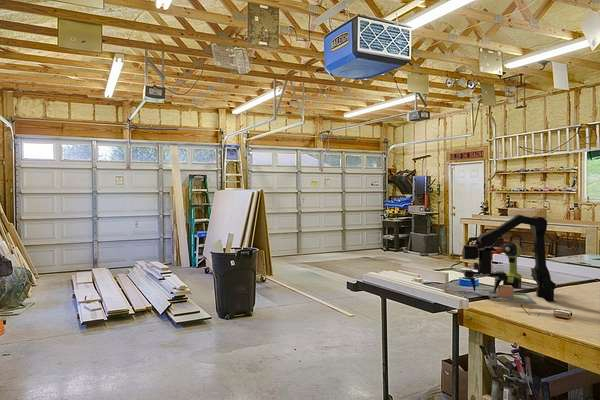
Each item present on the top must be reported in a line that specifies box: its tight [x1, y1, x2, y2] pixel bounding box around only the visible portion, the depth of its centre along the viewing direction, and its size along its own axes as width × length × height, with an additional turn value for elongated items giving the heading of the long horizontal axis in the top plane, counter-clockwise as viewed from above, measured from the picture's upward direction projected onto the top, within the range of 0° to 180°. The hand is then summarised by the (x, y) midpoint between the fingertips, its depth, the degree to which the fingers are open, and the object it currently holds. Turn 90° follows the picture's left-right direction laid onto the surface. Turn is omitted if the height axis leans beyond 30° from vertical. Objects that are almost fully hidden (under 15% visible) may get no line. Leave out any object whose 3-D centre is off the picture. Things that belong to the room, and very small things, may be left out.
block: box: [497, 284, 514, 298], centre depth 209 cm, size 6×5×4 cm
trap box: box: [485, 290, 536, 305], centre depth 205 cm, size 18×16×2 cm
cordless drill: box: [502, 241, 523, 289], centre depth 226 cm, size 23×7×25 cm, turn 143°
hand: (484, 292), depth 211 cm, fingers open, 9 cm apart
